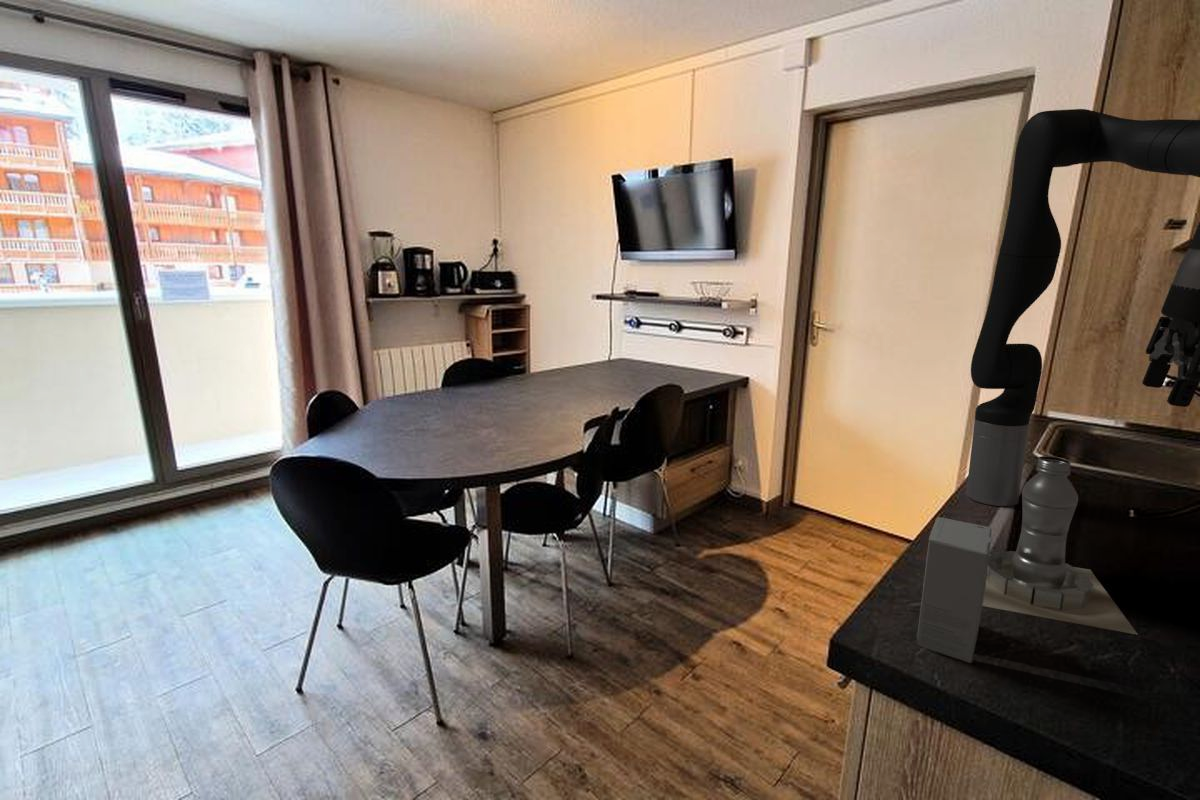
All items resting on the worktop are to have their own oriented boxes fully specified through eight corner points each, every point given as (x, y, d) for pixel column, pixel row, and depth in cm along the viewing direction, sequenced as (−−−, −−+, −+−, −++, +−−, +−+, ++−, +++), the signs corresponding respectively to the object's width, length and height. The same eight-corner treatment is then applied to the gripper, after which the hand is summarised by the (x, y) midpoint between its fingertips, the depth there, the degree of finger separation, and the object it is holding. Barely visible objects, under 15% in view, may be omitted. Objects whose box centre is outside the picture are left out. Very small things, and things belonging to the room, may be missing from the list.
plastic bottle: (1043, 574, 87) (1061, 452, 83) (1075, 598, 81) (1096, 467, 76) (999, 573, 88) (1015, 452, 84) (1027, 597, 81) (1046, 467, 77)
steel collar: (979, 559, 92) (980, 545, 92) (1073, 574, 87) (1075, 559, 86) (993, 598, 81) (995, 582, 81) (1102, 617, 76) (1105, 601, 75)
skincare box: (924, 616, 79) (935, 514, 76) (980, 632, 75) (994, 526, 72) (914, 647, 73) (925, 537, 69) (975, 667, 69) (989, 551, 65)
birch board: (956, 554, 96) (956, 549, 96) (1089, 575, 88) (1090, 569, 88) (973, 610, 80) (973, 604, 80) (1136, 641, 72) (1138, 634, 72)
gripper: (1152, 275, 83) (1113, 377, 89) (1200, 290, 71) (1151, 407, 77) (1219, 279, 80) (1174, 385, 86) (1281, 296, 68) (1223, 417, 74)
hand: (1163, 395), depth 82 cm, fingers open, 8 cm apart
